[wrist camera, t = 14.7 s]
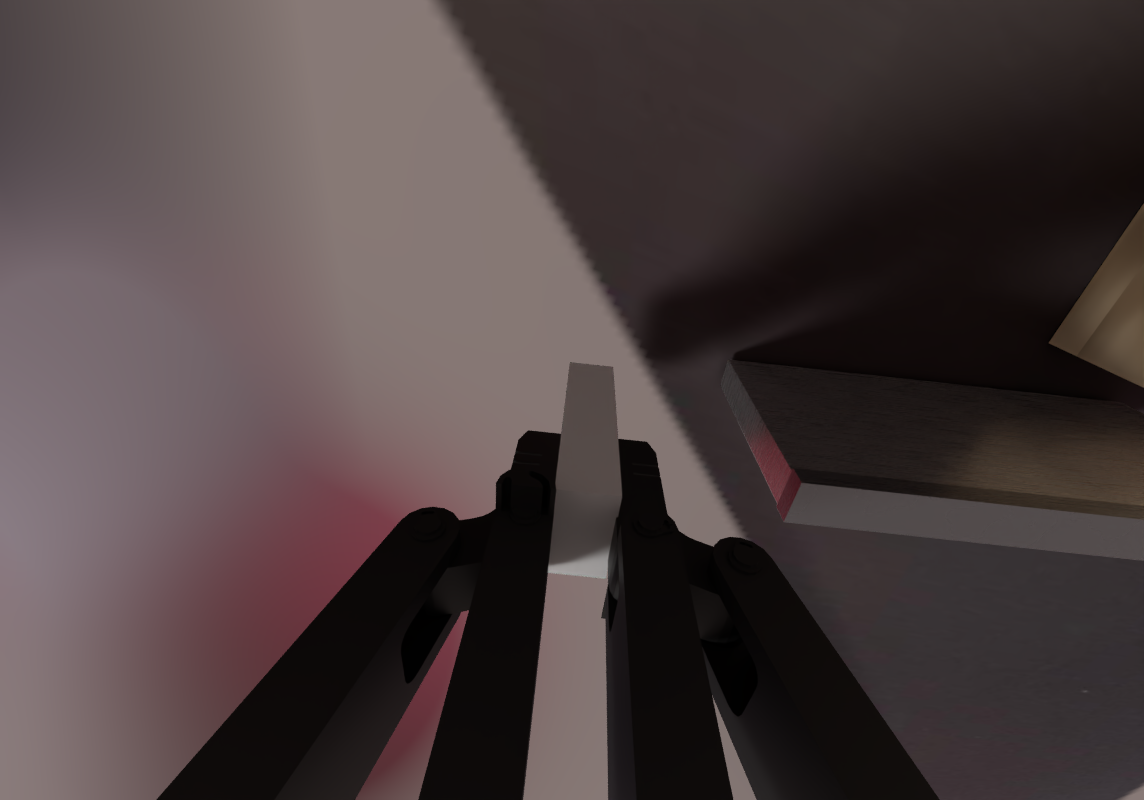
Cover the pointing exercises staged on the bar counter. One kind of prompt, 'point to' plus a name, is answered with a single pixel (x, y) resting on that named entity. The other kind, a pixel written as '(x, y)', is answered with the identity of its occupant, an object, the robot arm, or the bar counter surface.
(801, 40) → the bar counter surface
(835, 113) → the bar counter surface
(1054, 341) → the wooden box
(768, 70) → the bar counter surface
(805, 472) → the grey rectangular panel
